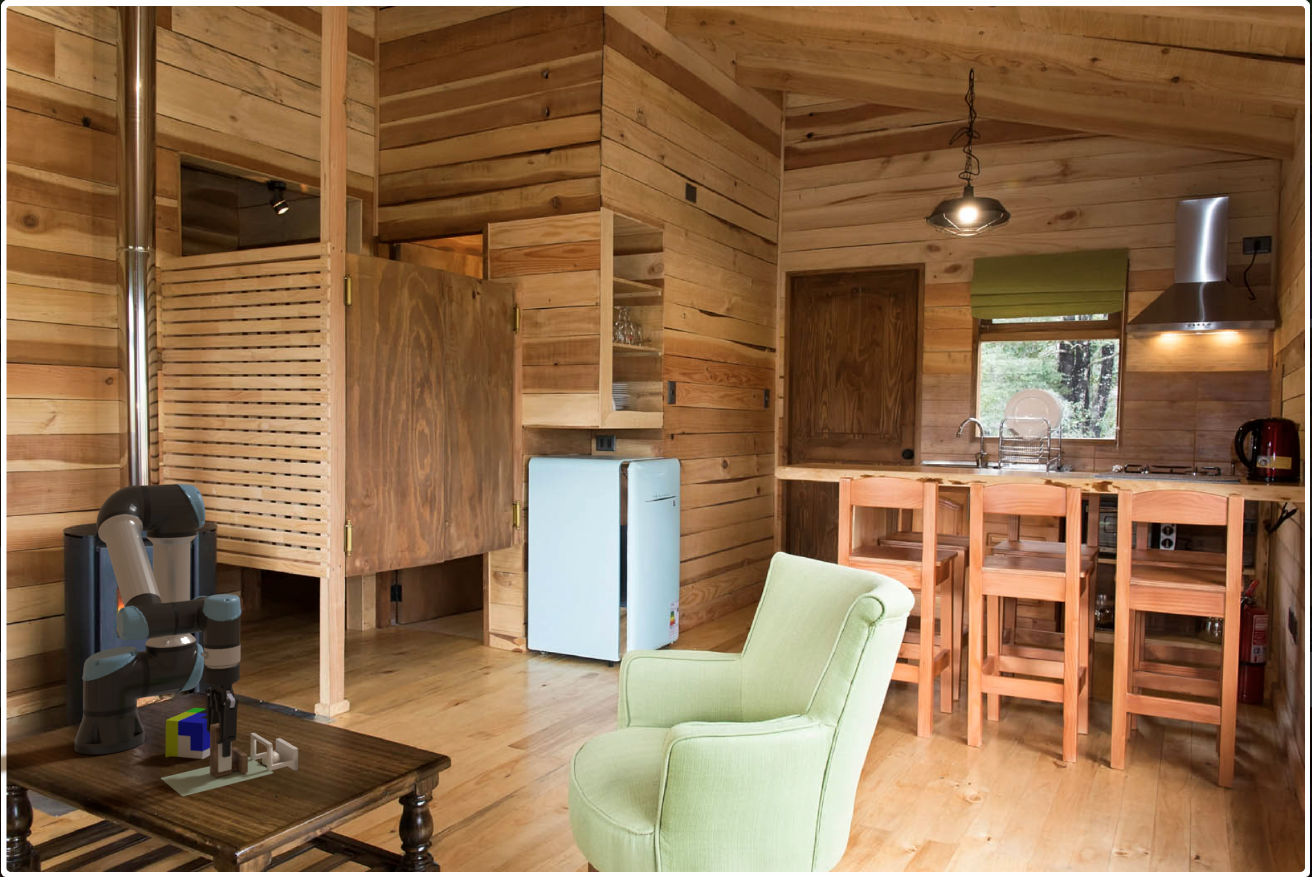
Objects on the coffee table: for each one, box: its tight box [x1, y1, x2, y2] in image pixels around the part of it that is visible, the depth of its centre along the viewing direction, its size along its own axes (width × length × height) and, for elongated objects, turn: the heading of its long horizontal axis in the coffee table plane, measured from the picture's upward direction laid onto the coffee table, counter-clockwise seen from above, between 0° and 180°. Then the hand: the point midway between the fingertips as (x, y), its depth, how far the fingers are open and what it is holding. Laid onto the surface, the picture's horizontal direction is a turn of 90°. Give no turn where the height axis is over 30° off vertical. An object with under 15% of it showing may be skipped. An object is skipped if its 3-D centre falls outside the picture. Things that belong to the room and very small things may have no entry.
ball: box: [261, 751, 281, 766], centre depth 218 cm, size 4×4×4 cm
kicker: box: [209, 723, 249, 777], centre depth 211 cm, size 7×6×11 cm
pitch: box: [160, 732, 299, 797], centre depth 212 cm, size 14×26×8 cm, turn 135°
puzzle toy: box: [165, 707, 210, 760], centre depth 226 cm, size 10×10×10 cm
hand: (221, 767), depth 210 cm, fingers closed on kicker, 3 cm apart
